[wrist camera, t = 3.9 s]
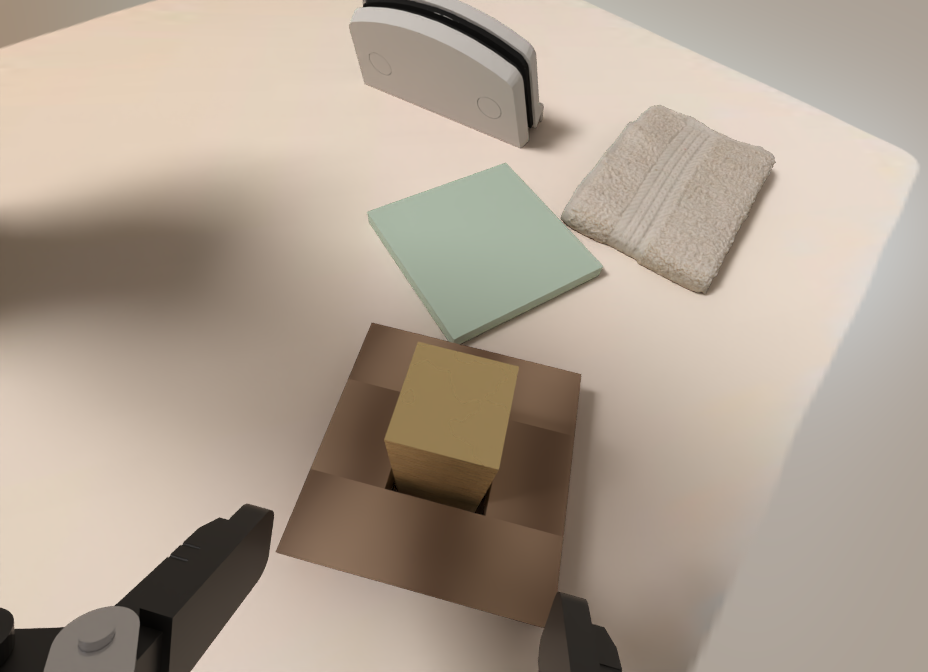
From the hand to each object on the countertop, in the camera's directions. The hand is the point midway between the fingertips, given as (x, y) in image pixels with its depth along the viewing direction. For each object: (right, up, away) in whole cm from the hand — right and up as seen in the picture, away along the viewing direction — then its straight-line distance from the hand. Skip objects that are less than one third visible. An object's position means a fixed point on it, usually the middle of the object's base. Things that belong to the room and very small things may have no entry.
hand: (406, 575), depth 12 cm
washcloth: (+18, +18, +25) cm, 36 cm away
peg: (+1, 0, +12) cm, 12 cm away
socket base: (+1, 0, +12) cm, 12 cm away
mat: (+3, +13, +20) cm, 24 cm away
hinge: (0, +27, +28) cm, 39 cm away
